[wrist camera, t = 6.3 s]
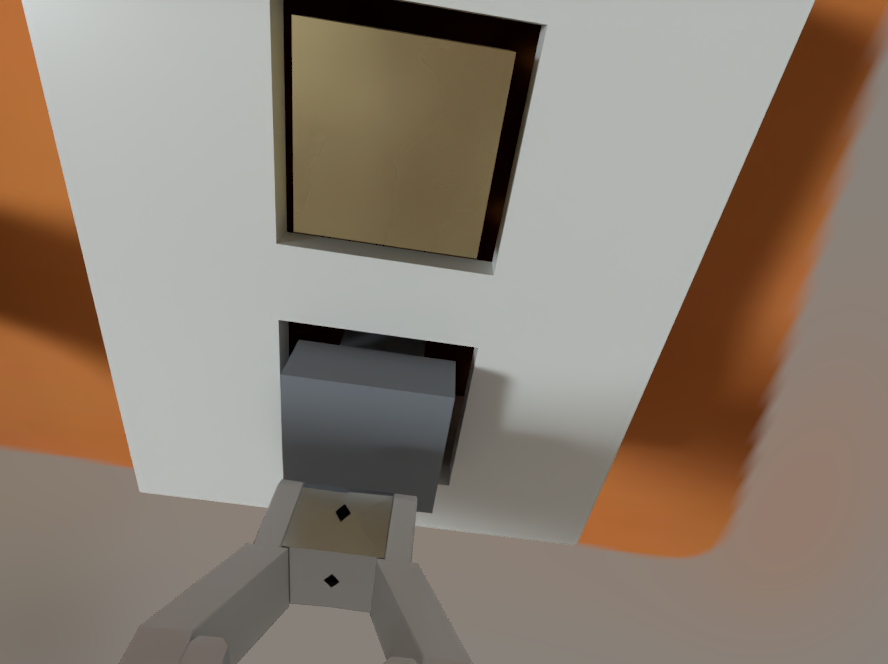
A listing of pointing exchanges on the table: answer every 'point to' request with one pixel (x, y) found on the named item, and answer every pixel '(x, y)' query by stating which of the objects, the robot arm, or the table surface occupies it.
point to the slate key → (367, 415)
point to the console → (393, 269)
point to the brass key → (394, 134)
